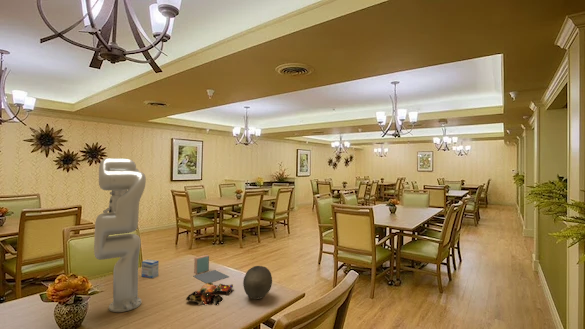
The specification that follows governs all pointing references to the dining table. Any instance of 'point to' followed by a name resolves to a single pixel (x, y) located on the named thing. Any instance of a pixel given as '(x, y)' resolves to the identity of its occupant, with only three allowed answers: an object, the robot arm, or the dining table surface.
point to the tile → (201, 264)
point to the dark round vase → (257, 282)
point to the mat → (211, 276)
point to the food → (209, 294)
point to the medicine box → (150, 268)
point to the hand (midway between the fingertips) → (119, 223)
